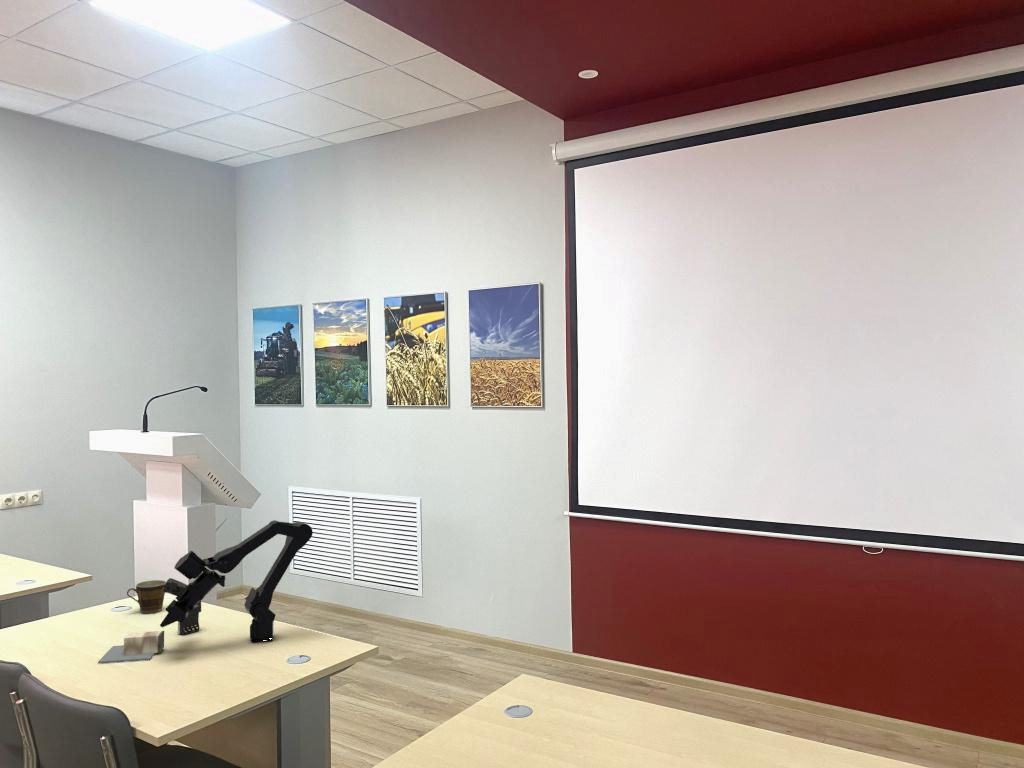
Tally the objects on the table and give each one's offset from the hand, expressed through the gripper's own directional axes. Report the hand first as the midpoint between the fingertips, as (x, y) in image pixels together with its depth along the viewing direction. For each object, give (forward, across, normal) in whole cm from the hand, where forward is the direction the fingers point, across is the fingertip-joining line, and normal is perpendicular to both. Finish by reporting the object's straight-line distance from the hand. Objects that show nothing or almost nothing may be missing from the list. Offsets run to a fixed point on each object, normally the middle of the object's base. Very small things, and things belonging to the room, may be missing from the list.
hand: (161, 626), depth 229 cm
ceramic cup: (+16, -46, -5) cm, 49 cm away
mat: (+11, 0, 0) cm, 11 cm away
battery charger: (+2, -18, +9) cm, 20 cm away
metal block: (+3, 0, +4) cm, 5 cm away
